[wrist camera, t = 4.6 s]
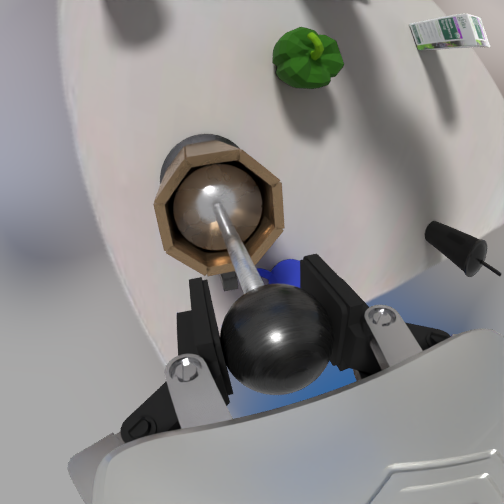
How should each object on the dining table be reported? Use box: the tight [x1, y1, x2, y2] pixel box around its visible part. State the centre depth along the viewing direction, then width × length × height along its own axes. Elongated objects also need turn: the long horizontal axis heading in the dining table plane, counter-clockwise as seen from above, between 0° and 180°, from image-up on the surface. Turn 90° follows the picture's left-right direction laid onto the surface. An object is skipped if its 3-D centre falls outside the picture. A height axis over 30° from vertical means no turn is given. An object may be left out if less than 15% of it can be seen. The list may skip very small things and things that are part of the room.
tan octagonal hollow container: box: [154, 134, 284, 291], centre depth 30 cm, size 12×14×18 cm
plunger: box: [174, 164, 334, 395], centre depth 16 cm, size 8×8×19 cm
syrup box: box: [409, 13, 490, 50], centre depth 27 cm, size 6×6×14 cm
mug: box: [257, 259, 300, 288], centre depth 42 cm, size 8×12×10 cm
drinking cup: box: [425, 221, 501, 277], centre depth 43 cm, size 8×8×20 cm
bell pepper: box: [273, 27, 344, 89], centre depth 28 cm, size 8×8×10 cm
